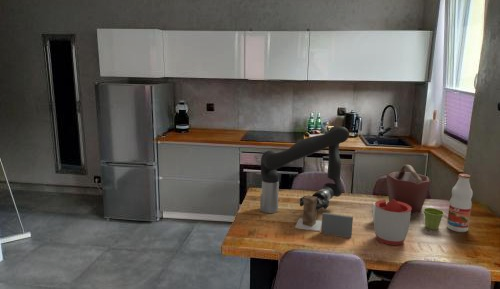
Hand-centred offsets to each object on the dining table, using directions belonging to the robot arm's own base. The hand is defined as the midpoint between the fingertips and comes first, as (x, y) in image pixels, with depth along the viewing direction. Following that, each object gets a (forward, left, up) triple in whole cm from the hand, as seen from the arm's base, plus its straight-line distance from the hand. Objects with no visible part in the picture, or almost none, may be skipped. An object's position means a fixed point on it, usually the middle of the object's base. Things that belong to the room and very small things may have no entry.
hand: (308, 206), depth 182 cm
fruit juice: (+71, +24, -11) cm, 76 cm away
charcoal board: (+14, -5, -10) cm, 19 cm away
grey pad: (0, +2, -10) cm, 11 cm away
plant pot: (+59, +21, -11) cm, 64 cm away
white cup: (+34, +18, -11) cm, 40 cm away
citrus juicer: (+38, -1, -11) cm, 40 cm away
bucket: (+48, +46, -11) cm, 68 cm away
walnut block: (0, +2, -10) cm, 10 cm away
